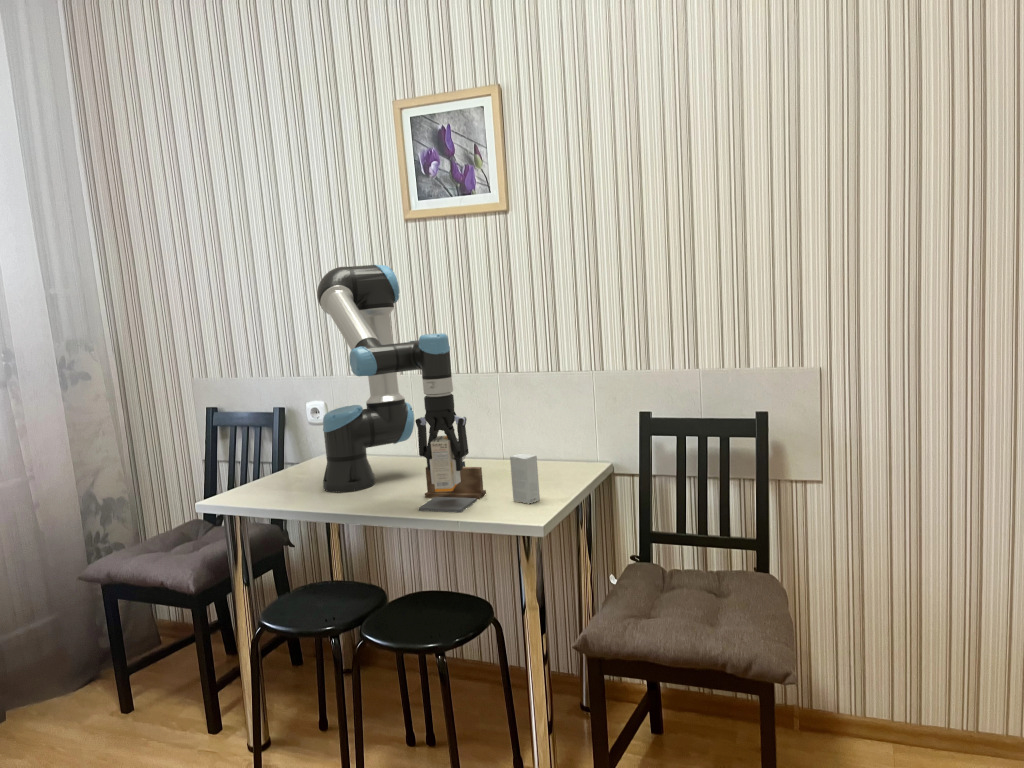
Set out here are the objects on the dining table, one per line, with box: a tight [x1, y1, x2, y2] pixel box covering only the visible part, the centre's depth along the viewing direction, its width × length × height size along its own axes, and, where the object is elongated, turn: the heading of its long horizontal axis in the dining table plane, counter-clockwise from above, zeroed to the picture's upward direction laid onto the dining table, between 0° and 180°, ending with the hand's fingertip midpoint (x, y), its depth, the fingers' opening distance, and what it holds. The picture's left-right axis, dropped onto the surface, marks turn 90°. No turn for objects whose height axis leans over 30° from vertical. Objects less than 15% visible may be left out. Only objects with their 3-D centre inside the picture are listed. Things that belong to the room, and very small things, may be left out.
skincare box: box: [509, 453, 541, 505], centre depth 198 cm, size 6×4×12 cm
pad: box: [418, 497, 478, 513], centre depth 199 cm, size 12×10×1 cm
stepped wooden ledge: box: [424, 466, 487, 500], centre depth 208 cm, size 16×5×8 cm, turn 70°
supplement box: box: [431, 434, 457, 492], centre depth 198 cm, size 8×5×13 cm, turn 173°
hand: (446, 482), depth 198 cm, fingers closed on supplement box, 6 cm apart
